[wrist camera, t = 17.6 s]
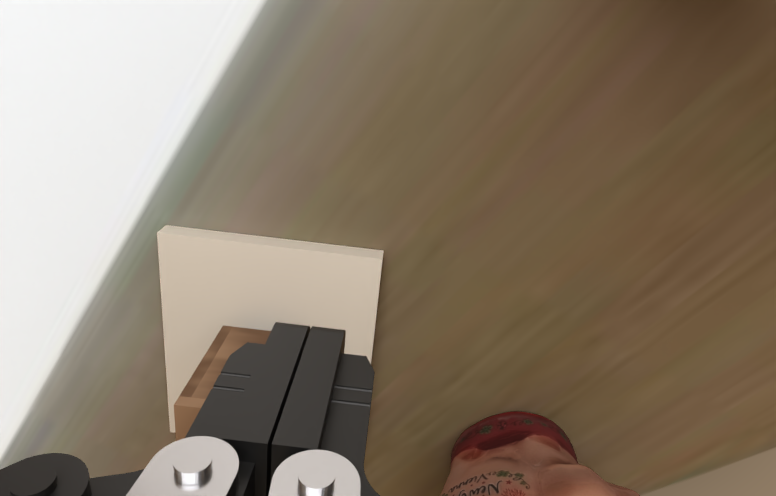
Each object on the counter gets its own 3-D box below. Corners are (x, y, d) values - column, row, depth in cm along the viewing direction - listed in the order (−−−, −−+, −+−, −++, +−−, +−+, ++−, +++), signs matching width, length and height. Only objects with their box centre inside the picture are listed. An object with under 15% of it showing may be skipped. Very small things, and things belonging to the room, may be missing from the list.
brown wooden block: (305, 335, 40) (276, 416, 32) (302, 401, 42) (274, 493, 34) (223, 325, 40) (173, 404, 32) (224, 392, 42) (178, 482, 34)
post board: (383, 250, 40) (372, 330, 30) (362, 441, 47) (347, 558, 37) (165, 224, 40) (81, 296, 30) (177, 419, 48) (112, 530, 37)
